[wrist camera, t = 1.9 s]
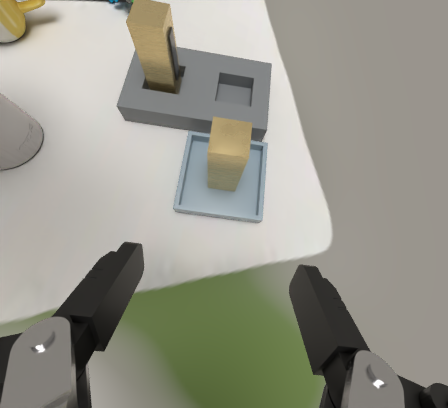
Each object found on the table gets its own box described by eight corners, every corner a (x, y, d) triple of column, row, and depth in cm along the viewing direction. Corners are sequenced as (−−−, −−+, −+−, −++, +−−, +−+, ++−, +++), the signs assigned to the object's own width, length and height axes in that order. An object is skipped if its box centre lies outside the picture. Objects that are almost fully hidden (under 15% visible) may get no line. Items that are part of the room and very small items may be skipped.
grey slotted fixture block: (125, 120, 30) (116, 105, 27) (144, 58, 33) (138, 40, 30) (261, 141, 31) (266, 129, 28) (266, 79, 34) (271, 63, 31)
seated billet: (152, 95, 30) (126, 21, 21) (157, 76, 31) (135, -3, 22) (178, 100, 30) (164, 28, 21) (183, 80, 31) (172, 4, 22)
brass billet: (207, 187, 27) (207, 151, 18) (211, 163, 28) (213, 116, 19) (236, 192, 28) (251, 158, 18) (239, 167, 29) (254, 123, 19)
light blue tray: (175, 211, 27) (173, 208, 25) (189, 138, 30) (188, 130, 28) (258, 222, 27) (262, 220, 25) (263, 150, 30) (267, 143, 29)
